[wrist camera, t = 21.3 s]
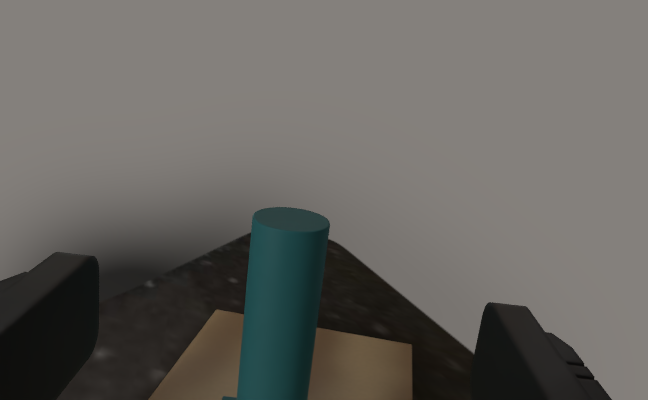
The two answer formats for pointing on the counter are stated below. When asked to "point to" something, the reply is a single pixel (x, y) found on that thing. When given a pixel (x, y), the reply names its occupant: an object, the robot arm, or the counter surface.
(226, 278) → the counter surface
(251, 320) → the dish brush
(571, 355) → the robot arm
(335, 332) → the birch board
